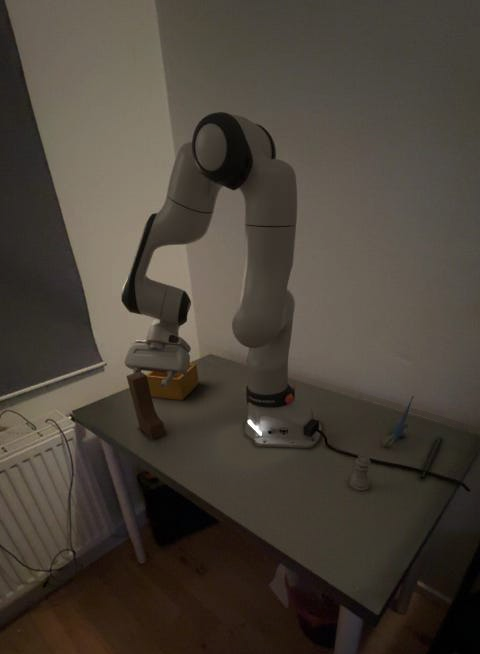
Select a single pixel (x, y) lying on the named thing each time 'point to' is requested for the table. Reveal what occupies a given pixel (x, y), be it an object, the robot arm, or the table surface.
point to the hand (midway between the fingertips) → (150, 384)
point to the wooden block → (145, 405)
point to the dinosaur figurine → (397, 429)
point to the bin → (173, 384)
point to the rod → (430, 458)
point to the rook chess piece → (361, 474)
